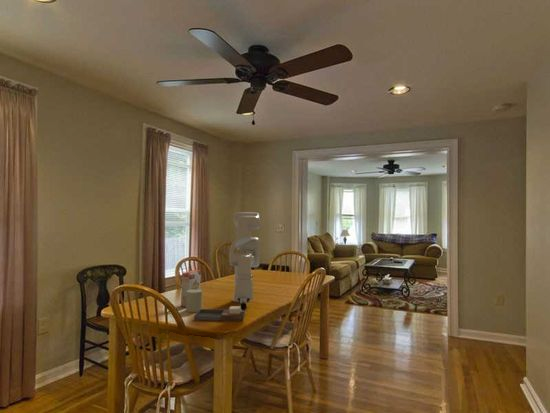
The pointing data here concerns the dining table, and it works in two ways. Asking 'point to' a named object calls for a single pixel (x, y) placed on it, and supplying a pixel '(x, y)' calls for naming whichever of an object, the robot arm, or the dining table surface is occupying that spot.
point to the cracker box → (189, 284)
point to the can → (194, 300)
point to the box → (208, 315)
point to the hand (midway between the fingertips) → (243, 310)
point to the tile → (235, 309)
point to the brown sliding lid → (232, 316)
